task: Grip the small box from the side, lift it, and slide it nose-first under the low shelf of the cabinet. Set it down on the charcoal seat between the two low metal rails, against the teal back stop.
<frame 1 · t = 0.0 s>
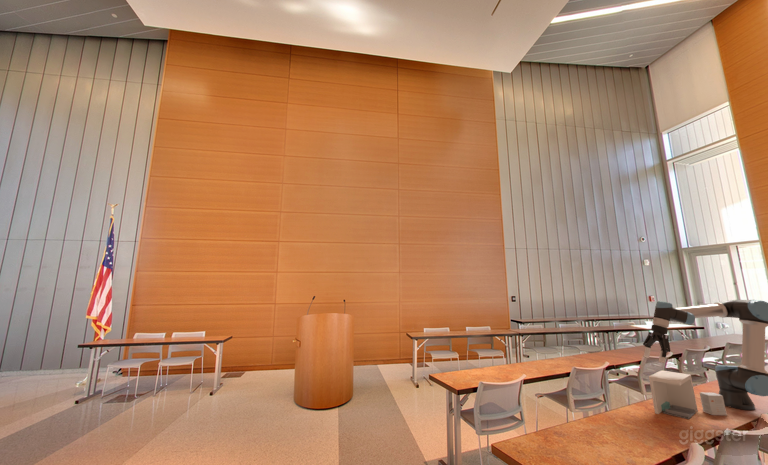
hand: (653, 360, 187), 28 cm above the table, tool tilted 20°, fingers open, 13 cm apart
small box: (714, 413, 175), on the table
cabinet: (677, 412, 177), on the table
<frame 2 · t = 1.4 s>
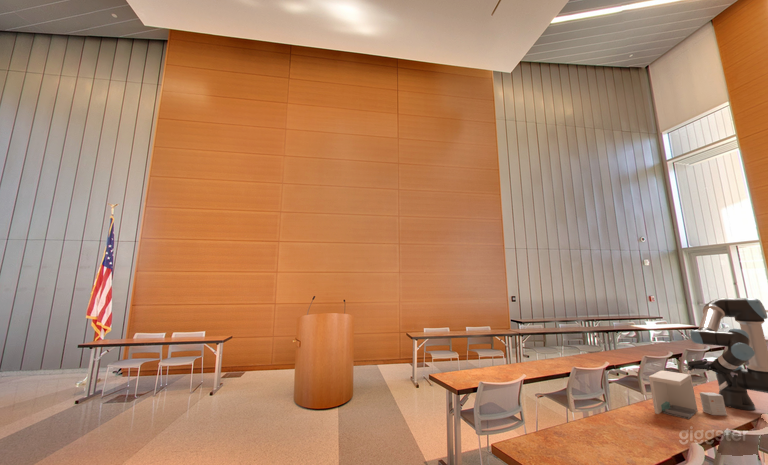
hand: (703, 380, 178), 18 cm above the table, tool tilted 50°, fingers open, 13 cm apart
nothing on the table moved.
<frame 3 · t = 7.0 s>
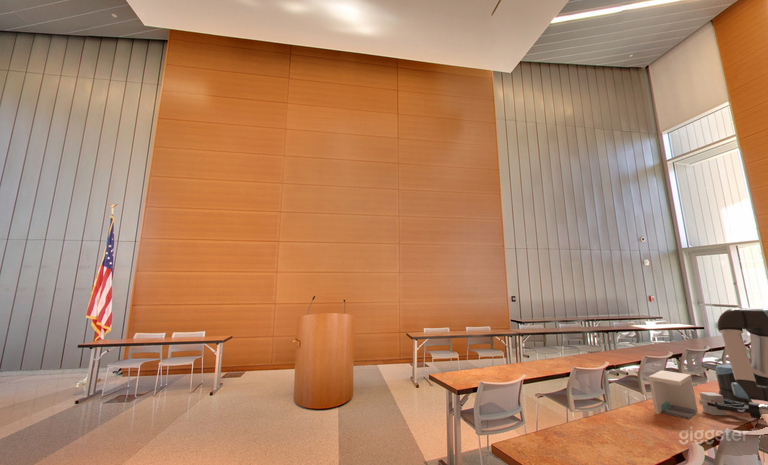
hand: (701, 399, 180), 6 cm above the table, tool horizontal, fingers closed on small box, 9 cm apart
small box: (714, 413, 175), on the table, touching gripper
when the fingers open (9 cm above the table, at t = 15.2 s): small box drops 2 cm, resting on cabinet.
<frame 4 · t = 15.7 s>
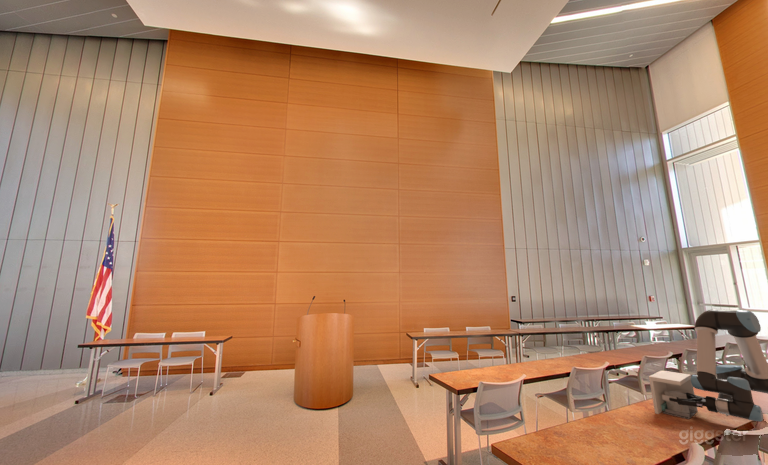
hand: (665, 394, 182), 8 cm above the table, tool horizontal, fingers open, 13 cm apart
small box: (678, 412, 177), resting on cabinet
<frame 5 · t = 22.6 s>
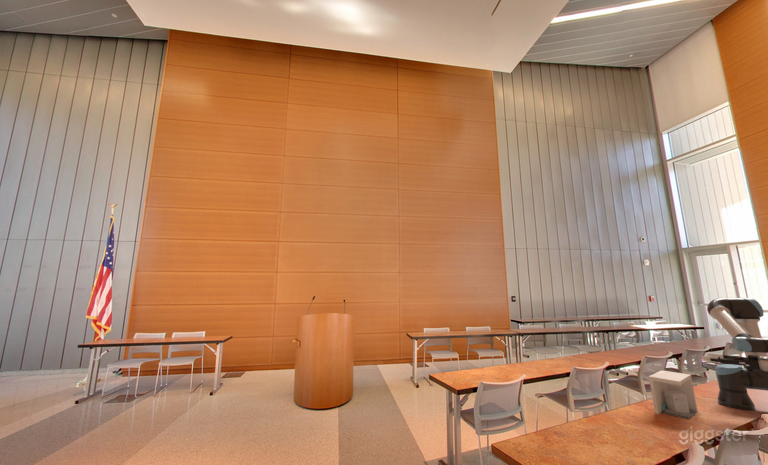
hand: (705, 356, 184), 30 cm above the table, tool horizontal, fingers open, 13 cm apart
nothing on the table moved.
at the end: small box 1.2 cm from the target spot, resting on cabinet; small box tilted 0°; the gripper is holding nothing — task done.
